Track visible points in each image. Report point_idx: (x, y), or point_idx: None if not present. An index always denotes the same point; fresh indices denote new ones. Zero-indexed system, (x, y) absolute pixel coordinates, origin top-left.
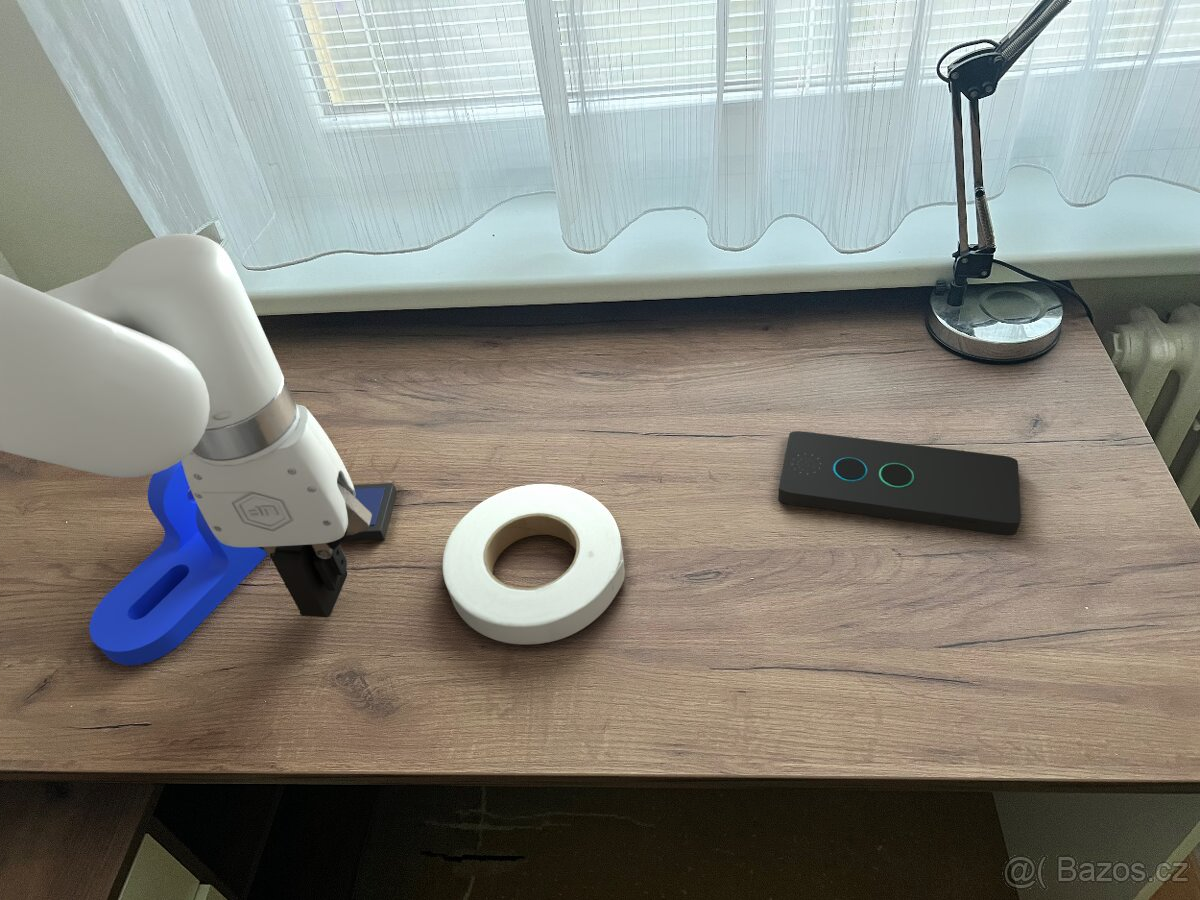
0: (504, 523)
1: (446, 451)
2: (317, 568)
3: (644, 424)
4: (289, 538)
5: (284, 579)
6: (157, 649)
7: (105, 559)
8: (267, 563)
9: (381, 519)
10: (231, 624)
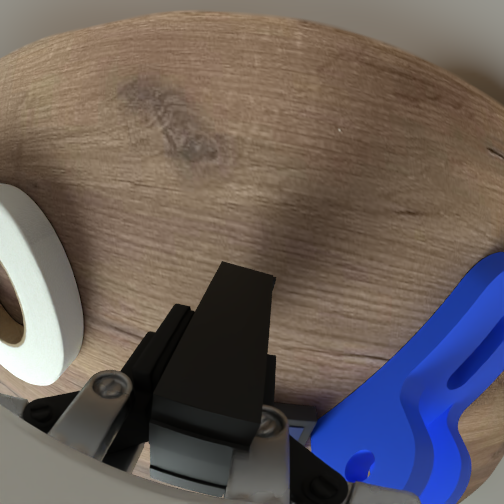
0: (21, 345)
1: (142, 450)
2: (159, 355)
3: (8, 393)
4: (52, 495)
5: (261, 347)
6: (492, 264)
7: (498, 389)
8: (348, 385)
9: None
10: (404, 296)
